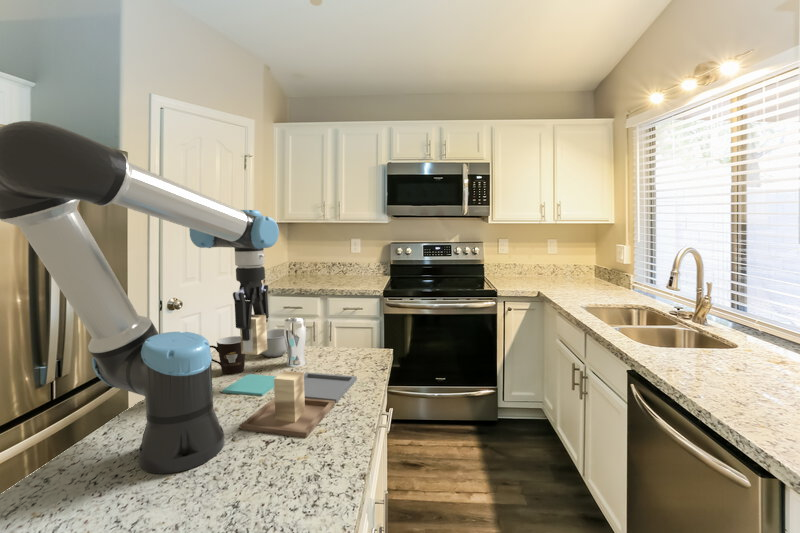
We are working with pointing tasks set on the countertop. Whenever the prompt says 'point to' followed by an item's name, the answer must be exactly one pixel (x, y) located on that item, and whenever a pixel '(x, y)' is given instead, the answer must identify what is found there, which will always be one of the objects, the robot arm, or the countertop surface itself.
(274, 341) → the teacup
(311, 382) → the grey tray
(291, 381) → the plain block
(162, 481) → the countertop surface
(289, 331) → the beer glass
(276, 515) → the countertop surface
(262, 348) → the letter block
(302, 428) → the walnut tray
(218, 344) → the coffee mug
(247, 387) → the teal mat
